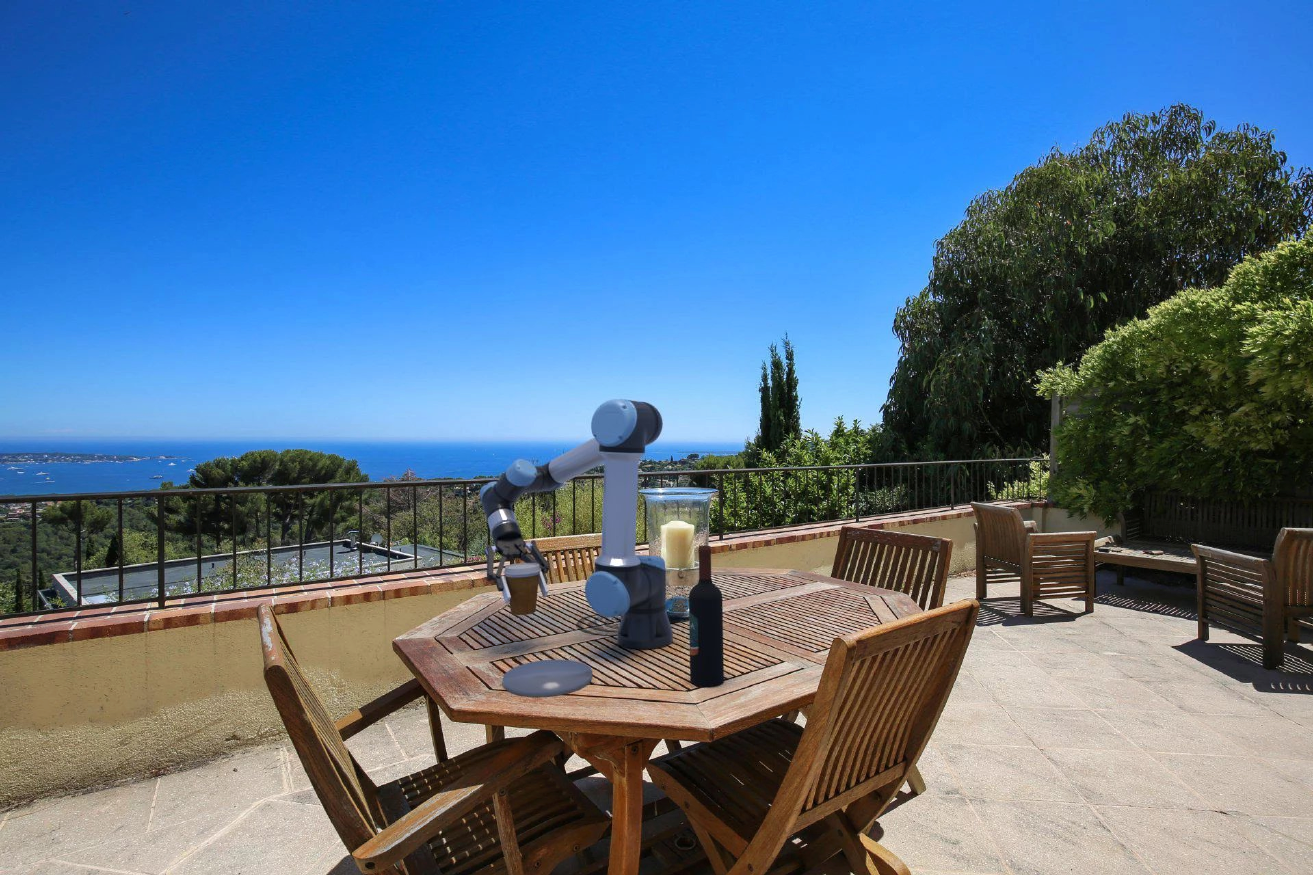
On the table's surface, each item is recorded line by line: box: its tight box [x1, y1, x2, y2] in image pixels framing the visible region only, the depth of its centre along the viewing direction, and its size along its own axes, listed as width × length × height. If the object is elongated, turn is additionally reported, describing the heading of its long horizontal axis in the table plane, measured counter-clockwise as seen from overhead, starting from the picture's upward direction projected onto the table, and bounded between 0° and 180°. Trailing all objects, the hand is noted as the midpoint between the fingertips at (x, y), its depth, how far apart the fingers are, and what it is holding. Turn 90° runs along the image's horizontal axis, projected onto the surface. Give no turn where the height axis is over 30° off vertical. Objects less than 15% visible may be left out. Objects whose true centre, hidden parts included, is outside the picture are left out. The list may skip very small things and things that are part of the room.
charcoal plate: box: [502, 658, 593, 698], centre depth 142 cm, size 20×20×1 cm
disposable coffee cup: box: [503, 562, 541, 616], centre depth 161 cm, size 10×10×12 cm
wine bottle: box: [688, 545, 725, 688], centre depth 140 cm, size 8×8×30 cm
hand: (527, 597), depth 159 cm, fingers closed on disposable coffee cup, 9 cm apart
